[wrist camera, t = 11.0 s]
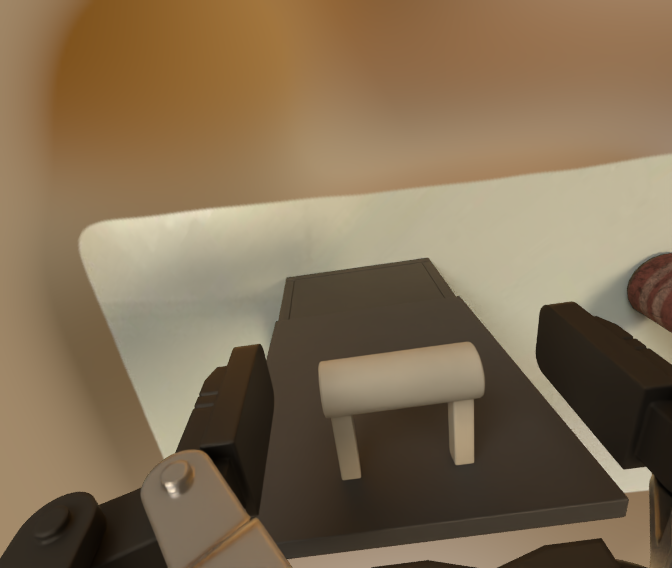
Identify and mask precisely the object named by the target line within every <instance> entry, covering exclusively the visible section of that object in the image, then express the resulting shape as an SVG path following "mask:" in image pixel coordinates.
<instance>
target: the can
mask: <svg viewBox="0 0 672 568" xmlns="http://www.w3.org/2000/svg"><path fill="white" fill-rule="evenodd" d="M627 291H628V299H629V302H630V303H631V305H632V307H633V308H634V309H636V310H637V311H639V312H640V313H642V314H644V315H645V316H647V317H648V318H650V319H651V320H653V321H654V322H656V323H657V324H659V325H661V326H662V327H664V328H665V329H667V330H668V331H670V332H671V333H672V253H670V254H663V255H660V256H657V257H654V258H651V259H650V260H648V261H647V262H645V263H643V264H642V265H641V266H640V267H639V268H638V269H637V270H636V271H635V272H634V274H633V275H632V277H631V279H630V280H629V284H628V288H627Z"/></svg>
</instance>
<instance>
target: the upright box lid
mask: <svg viewBox="0 0 672 568" xmlns="http://www.w3.org/2000/svg"><path fill="white" fill-rule="evenodd" d="M266 362H267V366H268V370H269V373H270V377H271V381H272V385H273V390H274V413H273V420H272V427H271V434H270V441H269V448H268V455H267V462H266V469H265V476H264V483H263V490H262V497H261V504H260V510H259V515H258V516H255V517H257V518H258V520H259V521H260V522H261V523H262V525H263V526H264V527H265V529H266V530H267V532H268V533H269V535H270V536H271V537H272V539H273V540H274V542H275V543H276V545H277V546H278V547H279V549H280V550H281V552H282V553H283V555H284V556H285V558H286V559H292V558H300V557H308V556H316V555H324V554H332V553H340V552H348V551H356V550H364V549H372V548H380V547H388V546H396V545H404V544H412V543H420V542H428V541H436V540H444V539H452V538H459V537H468V536H476V535H484V534H491V533H499V532H507V531H516V530H523V529H531V528H540V527H548V526H555V525H564V524H571V523H580V522H588V521H595V520H604V519H612V518H620V517H624V516H626V511H627V506H628V501H629V499H628V498H627V496H626V495H625V494H624V493H623V491H622V490H621V489H620V488H619V487H618V485H617V484H616V483H615V482H614V481H613V480H612V478H611V477H610V476H609V475H608V474H607V472H606V471H605V470H604V469H603V468H602V466H601V465H600V464H599V463H598V462H597V460H596V459H595V458H594V457H593V456H592V454H591V453H590V452H589V451H588V450H587V448H586V447H585V446H584V445H583V444H582V442H581V441H580V440H579V439H578V438H577V436H576V435H575V434H574V433H573V432H572V430H571V429H570V428H569V427H568V426H567V424H566V423H565V422H564V421H563V420H562V418H561V417H560V416H559V415H558V414H557V412H556V411H555V410H554V409H553V408H552V406H551V405H550V404H549V403H548V402H547V400H546V399H545V398H544V397H543V396H542V395H541V393H540V392H539V391H538V390H537V389H536V387H535V386H534V385H533V384H532V383H531V381H530V380H529V379H528V378H527V377H526V375H525V374H524V373H523V372H522V371H521V369H520V368H519V367H518V366H517V365H516V363H515V362H514V361H513V360H512V359H511V357H510V356H509V355H508V354H507V353H506V351H505V350H504V349H503V348H502V347H501V345H500V344H499V343H498V342H497V341H496V339H495V338H494V337H493V336H492V335H491V333H490V332H489V331H488V330H487V329H486V327H485V326H484V325H483V324H482V323H481V321H480V320H479V319H478V318H477V317H476V315H475V314H474V313H473V312H472V311H471V310H470V308H469V307H468V306H467V305H466V304H465V302H464V301H463V300H462V299H461V298H460V296H457V297H450V298H442V299H435V300H428V301H421V302H413V303H406V304H399V305H392V306H385V307H377V308H370V309H363V310H356V311H348V312H341V313H334V314H327V315H320V316H312V317H305V318H298V319H291V320H283V321H276V323H275V327H274V331H273V335H272V339H271V343H270V347H269V351H268V355H267V359H266ZM250 517H251V518H252V517H254V516H250Z"/></svg>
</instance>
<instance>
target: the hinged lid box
mask: <svg viewBox="0 0 672 568" xmlns="http://www.w3.org/2000/svg"><path fill="white" fill-rule="evenodd" d="M450 297H456V296H455V294H454V293H453V292H452V290H451V289H450V287H449V286H448V285H447V283H446V282H445V280H444V279H443V278H442V276H441V275H440V273H439V272H438V271H437V269H436V268H435V266H434V265H433V264H432V262H431V261H430V260H429V258H424V259H417V260H409V261H402V262H395V263H388V264H381V265H374V266H367V267H360V268H353V269H346V270H338V271H331V272H324V273H317V274H310V275H303V276H296V277H289V278H286V283H285V288H284V294H283V299H282V304H281V310H280V315H279V320H278V321H283V320H291V319H298V318H305V317H312V316H320V315H327V314H334V313H341V312H348V311H356V310H363V309H370V308H377V307H385V306H392V305H399V304H406V303H413V302H421V301H428V300H435V299H442V298H450Z"/></svg>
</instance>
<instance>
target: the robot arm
mask: <svg viewBox="0 0 672 568" xmlns="http://www.w3.org/2000/svg"><path fill="white" fill-rule="evenodd" d="M536 359H537V363H538V366H539V368H540V370H541V371H542V373H543V374H544V375H545V377H546V378H547V379H548V380H549V381H550V383H551V384H552V385H553V386H554V387H555V388H556V390H557V391H558V392H559V393H560V394H561V396H562V397H563V398H564V399H565V400H566V402H567V403H568V404H569V405H570V406H571V408H572V409H573V410H574V411H575V412H576V413H577V415H578V416H579V417H580V418H581V419H582V421H583V422H584V423H585V424H586V425H587V427H588V428H589V429H590V430H591V431H592V433H593V434H594V435H595V436H596V437H597V439H598V440H599V441H600V442H601V443H602V444H603V446H604V447H605V448H606V449H607V450H608V452H609V453H610V454H611V455H612V456H613V458H614V459H615V460H616V461H617V462H618V464H619V465H620V466H621V467H622V468H623V469H631V468H639V467H647V468H648V469H649V470H650V471H651V472H652V476H651V479H650V483H649V493H650V495H649V497H650V549H651V550H650V551H651V554H650V555H651V556H650V567H649V568H672V365H671V364H670V363H668V362H667V361H666V360H664V359H663V358H662V357H660V356H659V355H658V354H656V353H655V352H653V351H652V350H651V349H647V348H646V346H645V345H644V344H643V343H641V342H640V341H638V340H637V339H633V336H632V335H630V334H629V333H628V332H626V331H625V330H623V329H622V328H621V327H619V326H618V325H616V324H614V323H611V322H609V321H607V320H604V319H602V318H600V317H597V316H592V315H591V314H590V313H588V312H587V311H586V310H585V309H583V308H582V307H581V306H579V305H578V304H577V303H575V302H565V303H557V304H550V305H544V306H543V307H542V308H541V310H540V315H539V324H538V334H537V343H536ZM273 413H274V390H273V385H272V381H271V377H270V373H269V370H268V366H267V362H266V358H265V354H264V351H263V348H262V346H261V344H255V345H248V346H241V347H235V348H234V349H233V350H232V353H231V356H230V359H229V362H228V365H227V366H224V367H217V368H216V369H215V370H214V371H213V372H212V373H211V375H210V376H209V377H208V378H207V379H206V380H205V382H204V384H203V386H202V389H201V391H200V394H199V397H198V399H197V401H196V403H195V409H193V411H192V413H191V416H190V418H189V421H188V423H187V425H186V428H185V430H184V433H183V435H182V438H181V440H180V443H179V445H178V447H177V450H176V452H175V454H173V455H171V456H169V457H167V458H165V459H164V460H162V461H161V462H160V463H159V464H157V465H156V466H155V467H154V468H153V469H152V470H151V471H150V473H149V474H148V475H147V477H146V479H145V480H144V482H143V485H142V487H141V488H139V489H137V490H135V491H133V492H130V493H128V494H125V495H123V496H121V497H118V498H115V499H113V500H110V501H108V502H105V503H103V504H100V505H98V503H97V502H96V500H95V498H94V497H93V496H92V495H91V494H89V493H86V492H75V493H70V494H66V495H64V496H61V497H59V498H57V499H55V500H53V501H51V502H49V503H48V504H46V505H45V506H43V507H42V508H41V509H39V510H38V511H37V512H36V513H34V514H33V515H32V516H31V517H30V518H29V519H28V520H27V521H26V522H25V523H24V524H23V525H22V527H21V528H20V529H19V531H18V532H17V534H16V535H15V537H14V538H13V540H12V541H11V543H10V544H9V546H8V547H7V549H6V551H5V552H4V554H3V555H2V557H1V558H0V568H292V566H291V565H290V563H289V562H288V560H287V559H286V558H285V556H284V555H283V553H282V552H281V550H280V549H279V547H278V546H277V545H276V543H275V542H274V540H273V539H272V537H271V536H270V535H269V533H268V532H267V530H266V529H265V527H264V526H263V525H262V523H261V522H260V521H259V520H258V518H257V517H255V516H258V515H259V510H260V504H261V497H262V490H263V483H264V476H265V469H266V462H267V455H268V448H269V441H270V434H271V427H272V420H273ZM250 516H254V517H252V518H251V517H250ZM372 568H475V567H468V566H462V565H455V564H449V563H442V562H435V561H429V560H426V561H418V562H411V563H402V564H394V565H387V566H379V567H372ZM498 568H646V567H644V566H641V565H638V564H634V563H631V562H627V561H623V560H618V559H615V558H614V557H613V555H612V553H611V552H610V550H609V549H608V547H607V546H606V544H605V543H604V541H603V540H602V538H599V539H591V540H583V541H576V542H569V543H561V544H552V545H544V546H542V547H540V548H538V549H536V550H534V551H532V552H530V553H528V554H525V555H523V556H522V557H519V558H517V559H515V560H513V561H511V562H508V563H506V564H504V565H502V566H500V567H498Z"/></svg>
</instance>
